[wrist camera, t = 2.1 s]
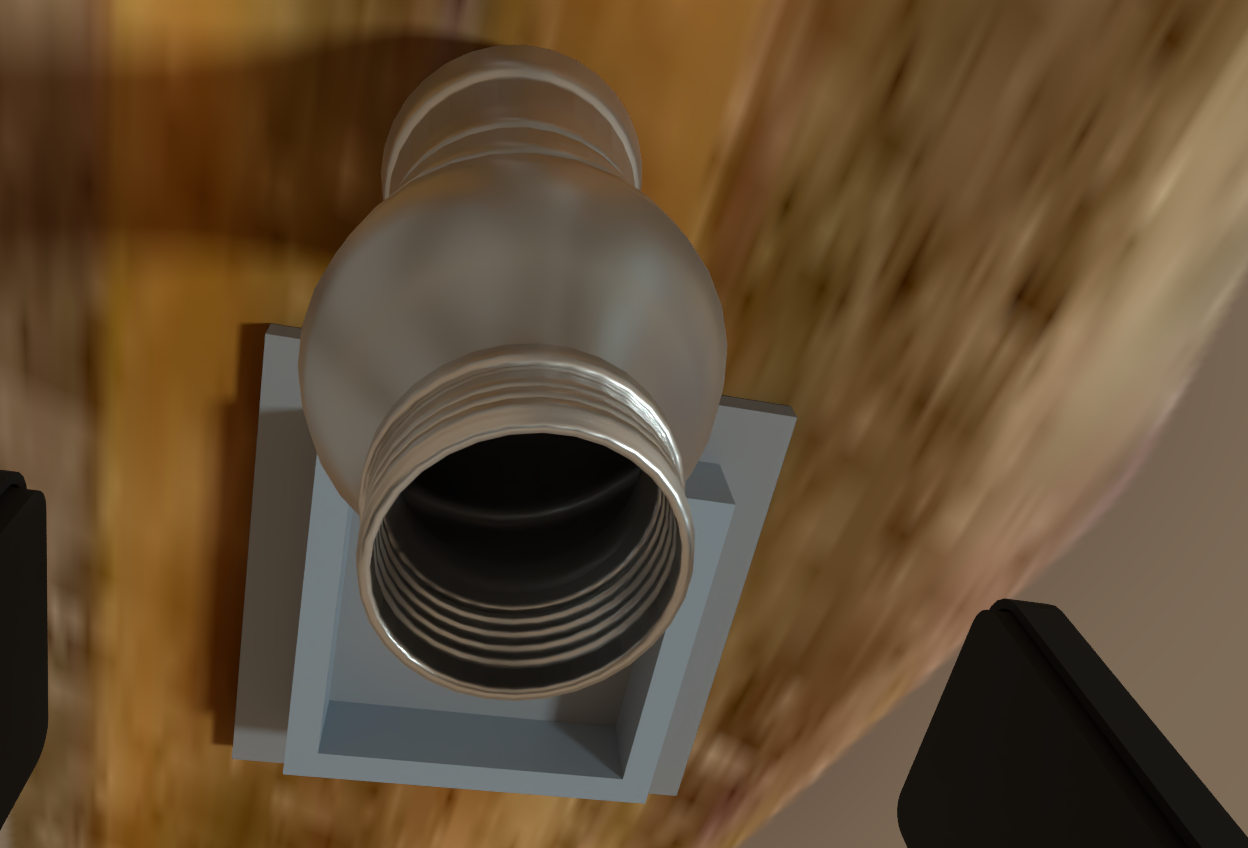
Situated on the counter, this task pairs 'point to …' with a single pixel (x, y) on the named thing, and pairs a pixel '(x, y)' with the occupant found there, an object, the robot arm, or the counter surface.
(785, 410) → the blue-grey square tray
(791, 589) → the counter surface
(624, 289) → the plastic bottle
